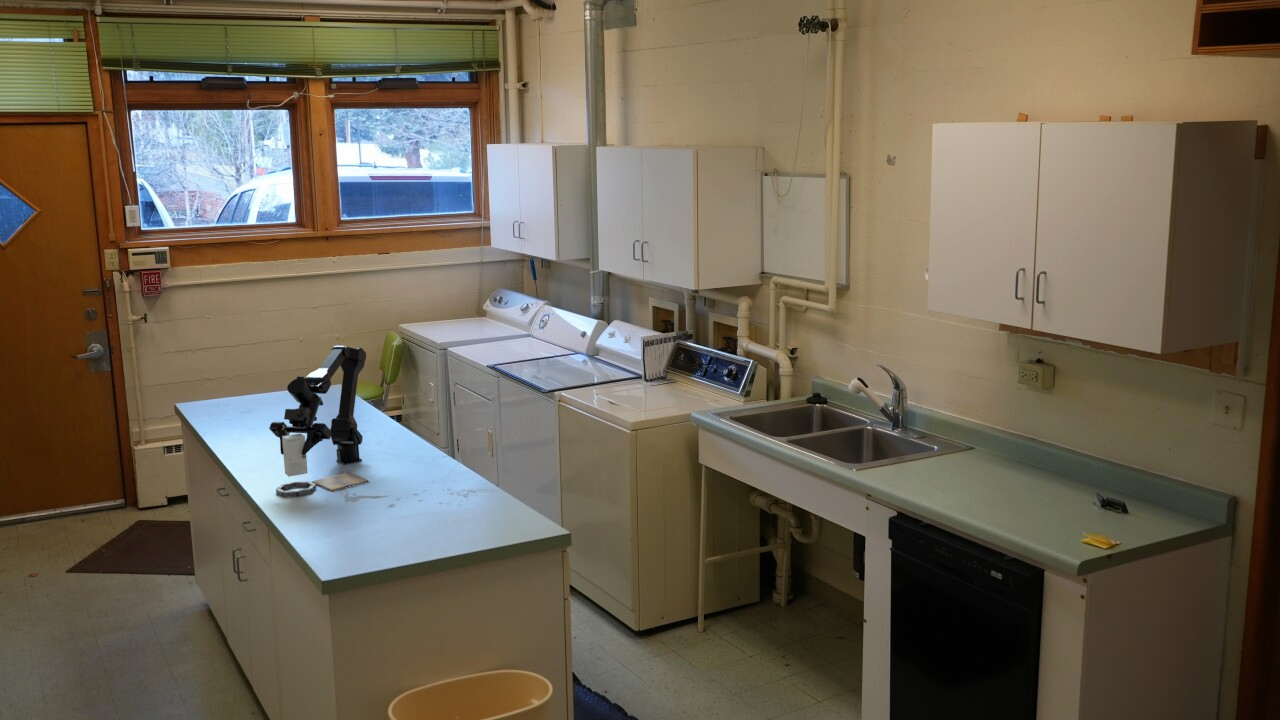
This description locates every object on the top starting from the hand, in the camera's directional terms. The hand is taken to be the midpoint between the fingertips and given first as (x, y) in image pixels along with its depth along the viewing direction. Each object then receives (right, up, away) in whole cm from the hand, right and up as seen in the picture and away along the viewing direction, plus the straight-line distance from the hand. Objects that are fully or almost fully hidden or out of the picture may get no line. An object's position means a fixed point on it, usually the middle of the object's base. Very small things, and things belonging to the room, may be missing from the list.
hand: (292, 454), depth 341 cm
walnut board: (+12, -10, +11) cm, 19 cm away
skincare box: (+1, -6, +3) cm, 7 cm away
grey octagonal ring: (0, -12, +3) cm, 12 cm away
